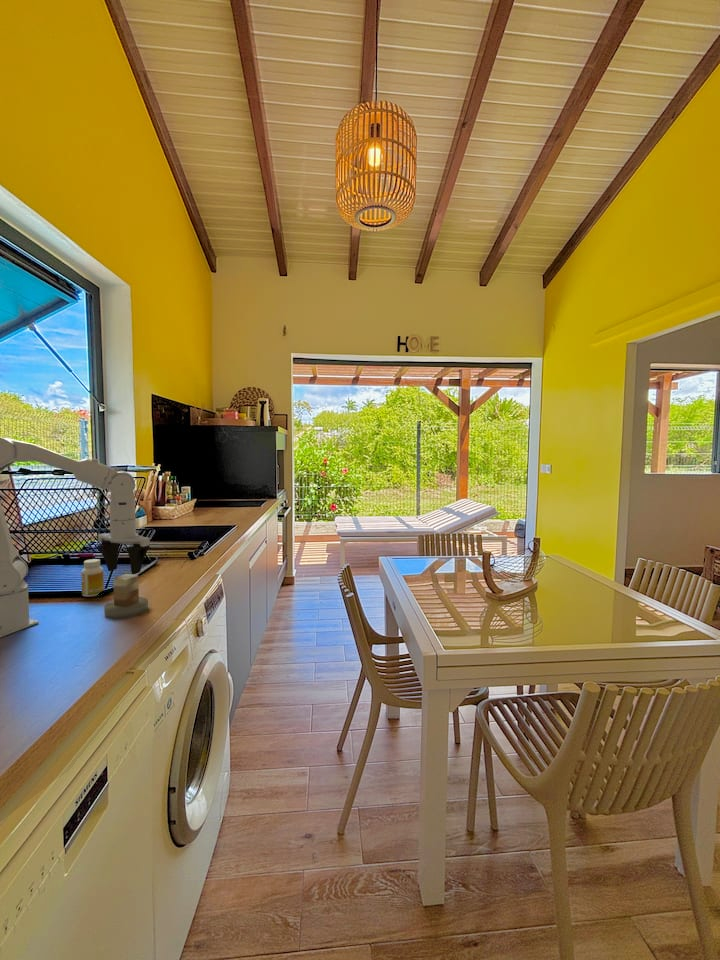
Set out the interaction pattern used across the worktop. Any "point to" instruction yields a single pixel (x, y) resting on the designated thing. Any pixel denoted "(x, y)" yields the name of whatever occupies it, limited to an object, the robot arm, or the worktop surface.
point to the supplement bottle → (92, 578)
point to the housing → (126, 590)
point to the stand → (125, 609)
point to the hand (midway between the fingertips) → (124, 571)
